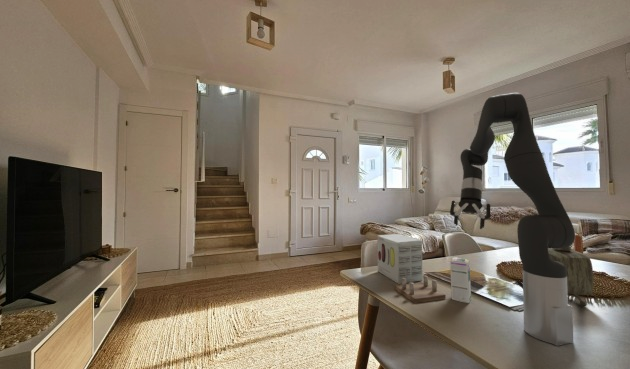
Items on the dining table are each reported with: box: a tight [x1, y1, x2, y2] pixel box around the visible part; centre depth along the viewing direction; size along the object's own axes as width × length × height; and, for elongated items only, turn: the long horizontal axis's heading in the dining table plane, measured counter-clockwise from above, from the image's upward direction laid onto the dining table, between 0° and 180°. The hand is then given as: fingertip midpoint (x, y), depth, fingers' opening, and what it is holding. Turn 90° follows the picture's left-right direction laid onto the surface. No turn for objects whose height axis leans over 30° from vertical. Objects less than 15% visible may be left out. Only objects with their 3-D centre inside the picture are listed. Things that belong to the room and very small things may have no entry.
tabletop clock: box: [548, 246, 594, 307], centre depth 93 cm, size 14×9×25 cm, turn 168°
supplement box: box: [376, 233, 424, 285], centre depth 119 cm, size 17×13×18 cm
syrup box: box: [449, 257, 472, 304], centre depth 94 cm, size 6×6×14 cm
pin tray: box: [394, 275, 447, 304], centre depth 98 cm, size 13×13×6 cm
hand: (468, 226), depth 103 cm, fingers open, 8 cm apart
